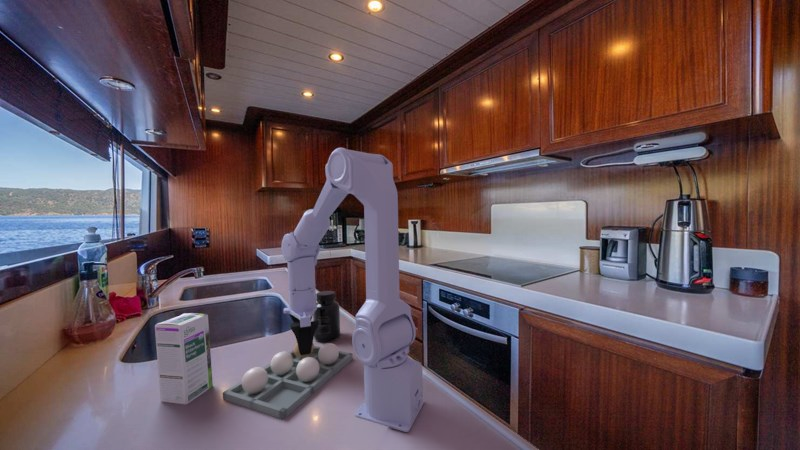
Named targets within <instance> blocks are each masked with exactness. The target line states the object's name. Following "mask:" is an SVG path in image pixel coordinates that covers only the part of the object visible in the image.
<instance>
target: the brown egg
mask: <svg viewBox="0 0 800 450" xmlns="http://www.w3.org/2000/svg"><path fill="white" fill-rule="evenodd" d="M314 346H315V345H314V342H313V343H312V349H311V353H310V354H306V355H300V352H299V348H298V344H297V341H296V343H295V344H294V347H293V349H294V354H295V356H296V357H297V358H299V359H303V358H306V357H310V356H311V355H312V353H313V351H314Z"/></svg>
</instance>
